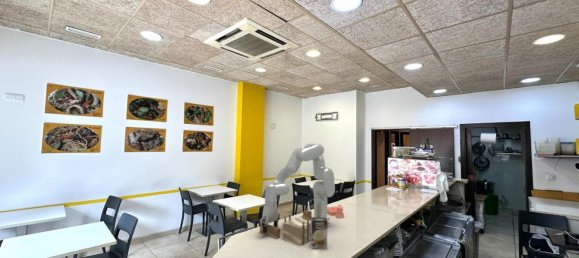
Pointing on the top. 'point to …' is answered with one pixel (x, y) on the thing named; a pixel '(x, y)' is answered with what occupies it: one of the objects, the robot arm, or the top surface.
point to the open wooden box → (296, 233)
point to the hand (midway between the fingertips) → (270, 230)
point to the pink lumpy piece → (336, 211)
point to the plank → (271, 231)
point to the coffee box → (318, 233)
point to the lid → (302, 219)
